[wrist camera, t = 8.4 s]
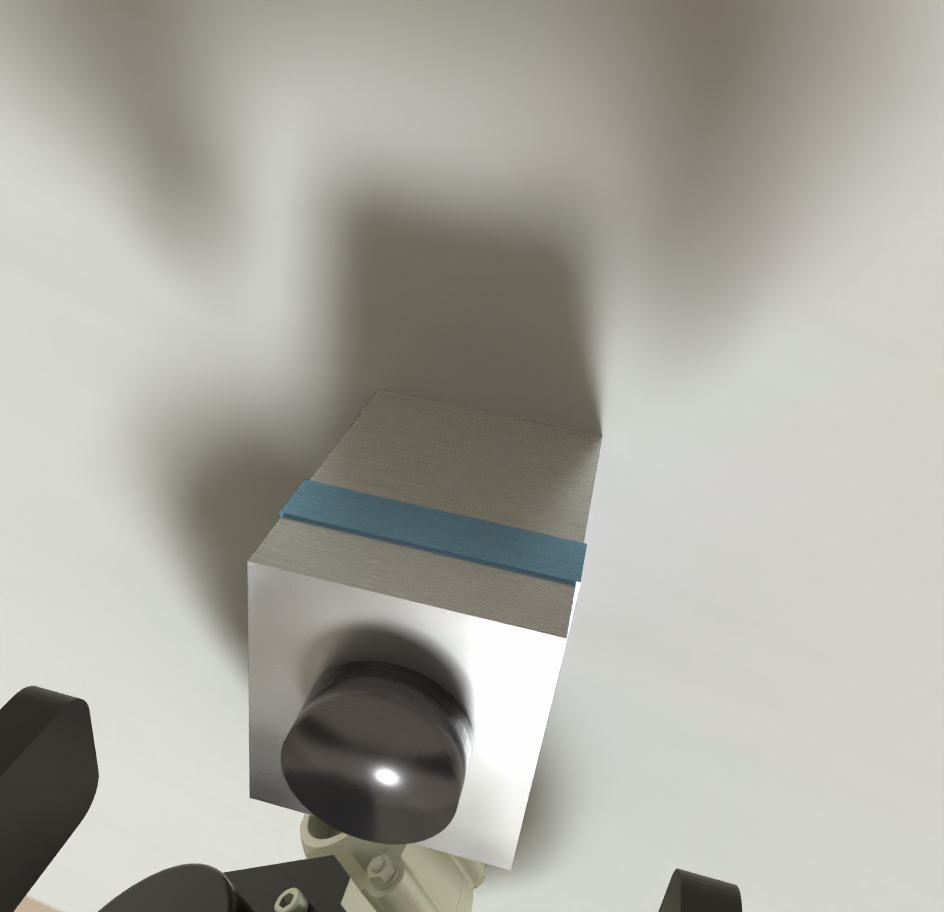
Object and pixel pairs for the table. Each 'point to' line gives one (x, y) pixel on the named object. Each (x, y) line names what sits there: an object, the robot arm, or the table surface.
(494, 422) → the grey box with knob
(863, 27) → the table surface
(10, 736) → the robot arm
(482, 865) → the pneumatic valve
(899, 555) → the table surface
